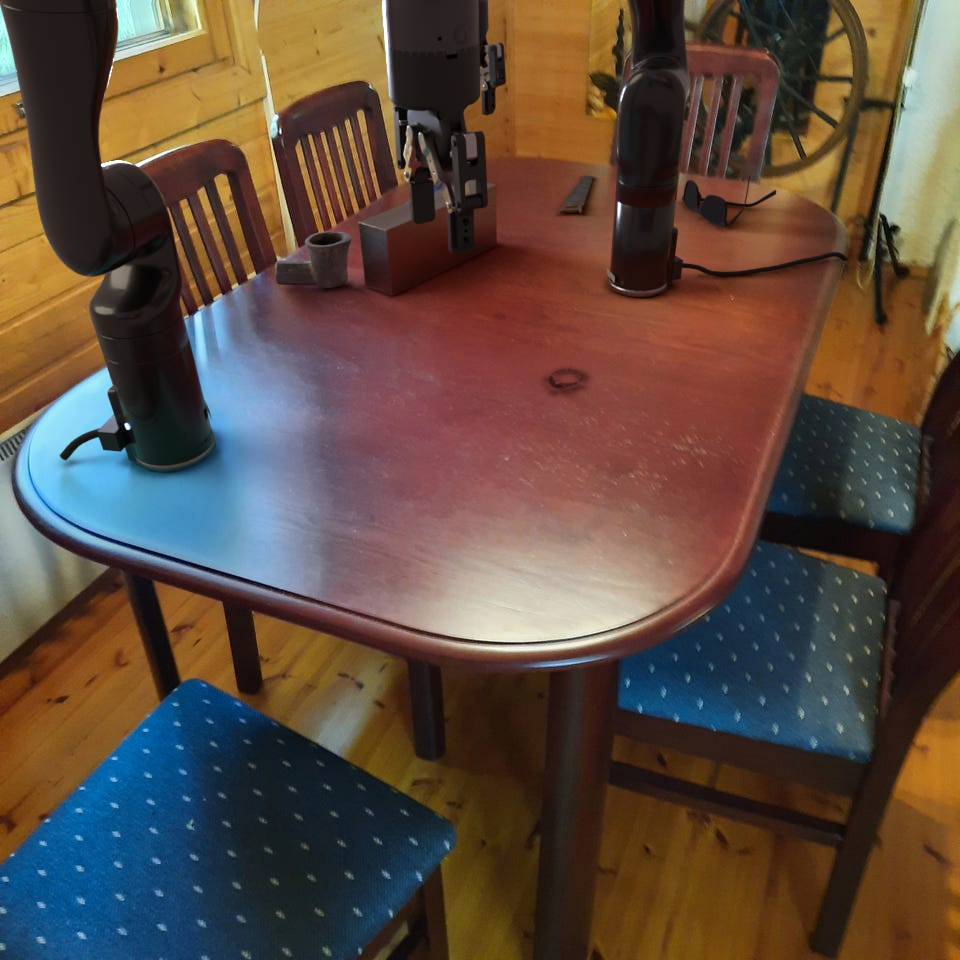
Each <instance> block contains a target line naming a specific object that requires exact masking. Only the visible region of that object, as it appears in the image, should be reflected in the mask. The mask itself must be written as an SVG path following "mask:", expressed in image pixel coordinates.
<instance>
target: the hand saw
mask: <svg viewBox="0 0 960 960" xmlns="http://www.w3.org/2000/svg"><path fill="white" fill-rule="evenodd" d="M593 179H594V176H592V175H583V177H582V178H581V180H580V181H579V182H578V183H577V185H576V186H575V187H574V188H573V190H572V191H571V192H570V194H569V195H568V196H567V197H566V198H565V200H564V201H563V202H562V203H561V205H560V206H559V208H560V210H559V212H558V213H559V214H564V213H566V214H568V213H569V214H575V213H579V214H580V215H581V214H582V213H583V209H584V208H585V203H586V200H587V197H588V193H589V191H590V188H591V185H592V182H593Z"/></svg>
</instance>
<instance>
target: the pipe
mask: <svg viewBox="0 0 960 960" xmlns="http://www.w3.org/2000/svg"><path fill="white" fill-rule="evenodd" d="M304 243H305V246H306V249H307V253H308V257H309V260H306V261H294V260H293V261H291V260H276V261H275V268H274V271H275V282H276V284H277V285H279V286H281V285H282V286H317V287H318V286H319V287H320V288H323V289H333V288H338V287H341V286H343V285H345V284H347V282H348V280H349V274H348V258H349V257H348V256H349V251H350V246H351V243H352V237H351V236H350V235H349V234H348V233H346V232H342V231H332V230H331V231H329V230H327V231H319V232H315V233H313V234H311V235H308V237H306V239H305V240H304Z"/></svg>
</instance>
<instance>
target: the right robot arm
mask: <svg viewBox="0 0 960 960" xmlns="http://www.w3.org/2000/svg"><path fill="white" fill-rule="evenodd" d="M626 2H627V6H628V10H629V16H630V28H631V29H630V30H631V46H630V47H631V49H630V67H629V76H628V78H627V79H626V80H625V82H624V84H623V86H622V88H621V91H620V95H619V100H618V109H617V125H616V145H615V162H616V180H615V195H614V208H613V222H612V223H613V224H612V234H611V235H612V238H611V248H610V249H611V251H610V261H609V263H610V264H609V268H608V267H607V268H606V275H607V276H608V281H607V282H608V283H607V286H608V288H609V289H610V290H611V291H613V292H614V293H616V294H619V295H622V296H626V297H631V298H632V297H633V298H647V297H649V298H650V297H654V296H658V295H661V294H662V293H664V292H665V291H666V290H667V289H668V288H671V287H672V286H673V281H678V280H681V279H682V272H683V269H689V270H690V269H691V270H696V271H699V272H701V273H703V274H705V275H708V276H713V277H739V276H740V277H742V276H749V275H754V274H760V273H768V272H773V271H778V270H783V269H787V268H791V267H794V266H798V265H802V264H808V263H812V262H813V263H814V262H818V261H822V260H825V259H828V258H833V257H834V258H839V259H840V260H842V261H844V262H846V261H849V259H848V257H847V256H846V255H845V254H844V253H841V252H839V251H831V252H826V253H823V254H819V255H816V256H811V257H805V258H800V259H796V260H792V261H787V262H784V263H779V264H776V265H771V266H763V267H756V268H751V269H745V270H744V269H743V270H735V271H734V270H733V271H719V270H718V271H717V270H711V269H708V268H706V267H705V266H702V265H699V264H695V263H688V262H684V260H683V258H681V257H679V256H677V255H676V252H677V245H678V238H679V237H678V235H679V229H678V227H676V226H674V225H675V217H676V207H677V200H678V199H677V198H678V188H679V181H680V180H679V179H680V173H681V165H682V164H681V150H682V140H683V133H684V132H683V131H684V122H685V115H686V108H687V106H688V104H689V100H690V98H691V79H690V71H689V62H688V55H687V54H688V52H687V51H688V50H687V41H686V40H687V39H686V31H685V30H686V29H685V5H686V3H685V2H686V0H626ZM478 7H479V48H480V88H481V89H482V90H480V96H481V114H482V116H490V115H492V114H494V112H495V110H496V107H497V104H496V103H497V100H496V90H497V88H498V87H501V86H504V85H506V83H507V74H506V58H505V57H506V56H505V45H504V43H503V42H497V43H493V44H492V43H491V44H490V43H488V40H487V39H488V38H487V34H488V31H489V29H490V26H489V25H490V24H489V22H490V21H489V0H478Z"/></svg>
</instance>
